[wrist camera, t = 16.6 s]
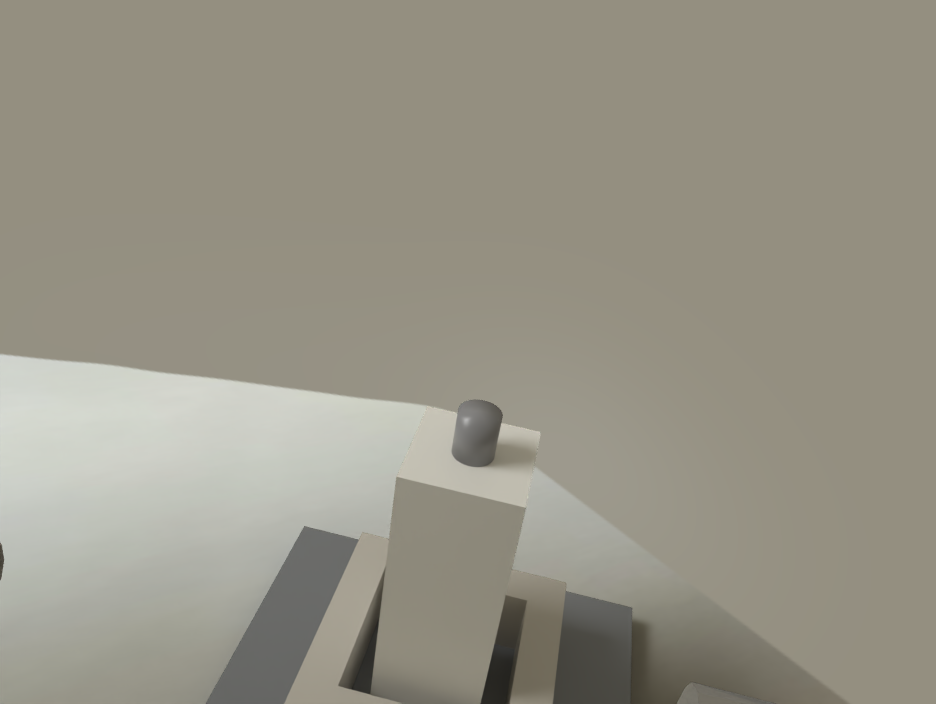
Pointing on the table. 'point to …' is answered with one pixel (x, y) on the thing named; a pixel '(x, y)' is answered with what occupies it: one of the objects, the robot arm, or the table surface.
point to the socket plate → (356, 627)
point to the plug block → (451, 554)
